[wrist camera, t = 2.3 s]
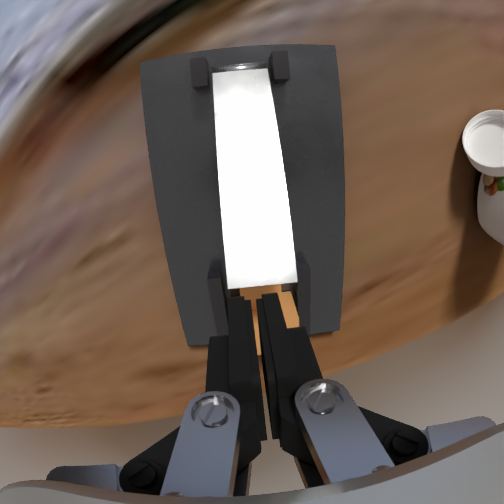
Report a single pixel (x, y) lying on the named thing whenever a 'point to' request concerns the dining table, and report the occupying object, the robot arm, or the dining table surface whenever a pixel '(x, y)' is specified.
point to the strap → (251, 179)
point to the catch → (285, 302)
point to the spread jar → (487, 169)
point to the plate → (207, 180)
